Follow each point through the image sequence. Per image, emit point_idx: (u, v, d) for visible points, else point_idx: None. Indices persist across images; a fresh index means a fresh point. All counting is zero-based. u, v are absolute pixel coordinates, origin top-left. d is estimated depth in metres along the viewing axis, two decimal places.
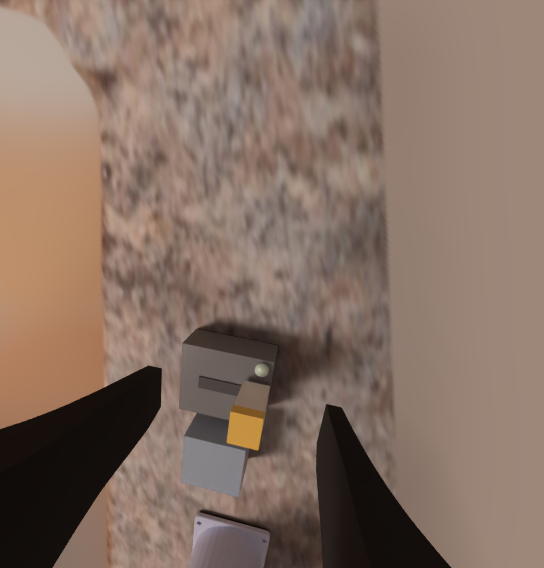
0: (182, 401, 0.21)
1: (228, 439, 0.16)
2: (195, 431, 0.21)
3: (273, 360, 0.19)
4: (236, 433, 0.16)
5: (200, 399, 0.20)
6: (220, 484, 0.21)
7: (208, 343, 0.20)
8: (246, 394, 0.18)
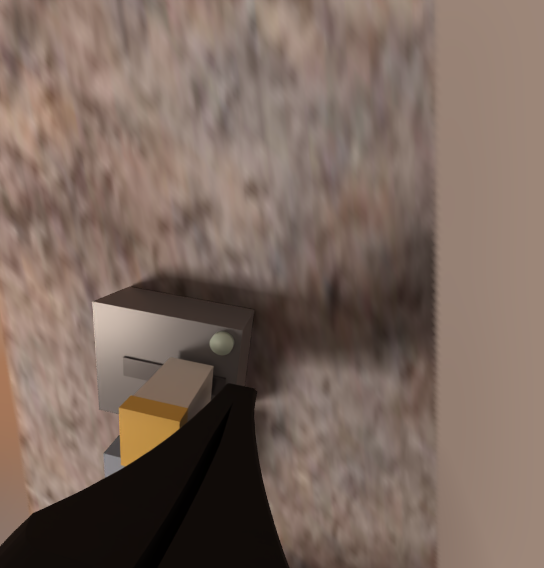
0: (103, 398, 0.13)
1: (123, 459, 0.09)
2: None
3: (241, 327, 0.11)
4: (135, 448, 0.09)
5: (129, 394, 0.13)
6: None
7: (137, 303, 0.12)
8: (165, 378, 0.10)
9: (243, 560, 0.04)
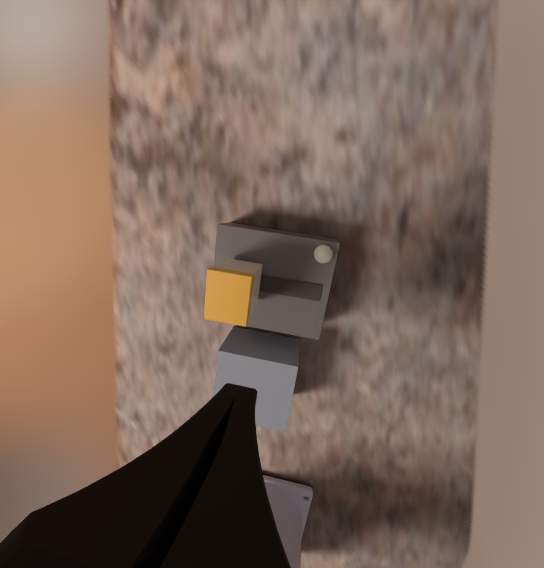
0: None
1: (206, 313, 0.12)
2: (231, 347, 0.16)
3: (337, 242, 0.14)
4: (216, 302, 0.12)
5: None
6: (262, 415, 0.17)
7: (249, 227, 0.15)
8: (231, 264, 0.14)
9: (245, 560, 0.04)
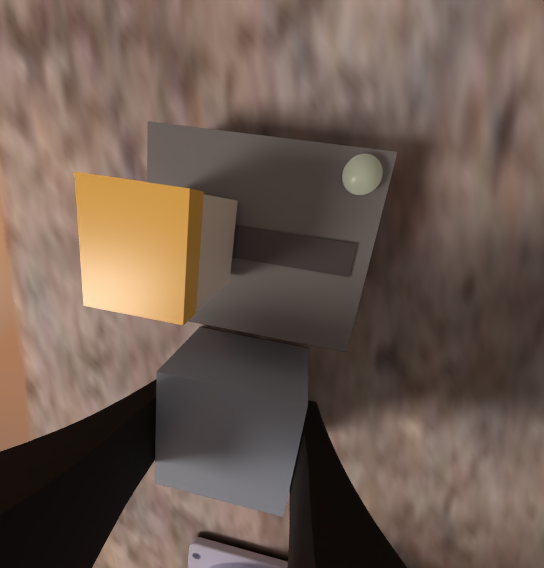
0: None
1: (87, 292, 0.05)
2: (184, 365, 0.09)
3: None
4: (107, 264, 0.05)
5: None
6: (242, 487, 0.09)
7: None
8: None
9: None
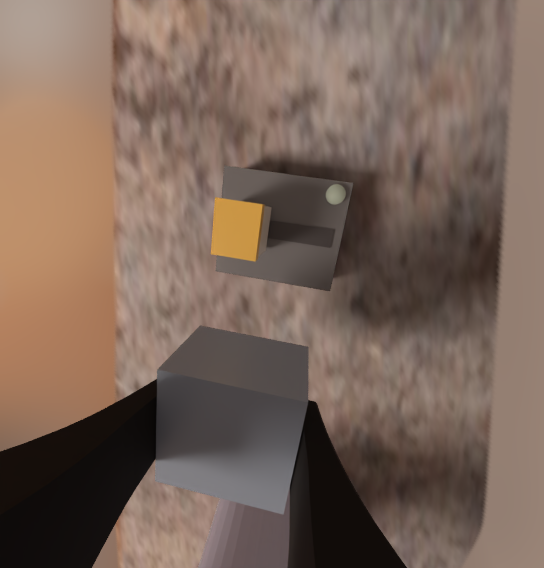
0: (220, 259, 0.15)
1: (213, 247, 0.12)
2: (185, 363, 0.09)
3: (350, 183, 0.14)
4: (224, 235, 0.12)
5: None
6: (242, 485, 0.09)
7: None
8: None
9: None
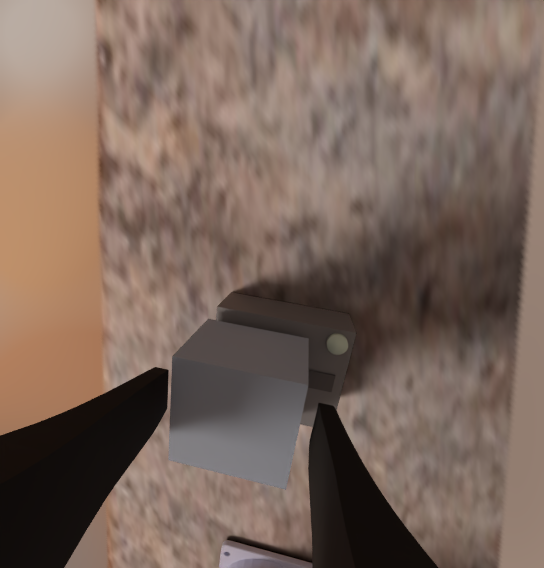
0: None
1: None
2: (197, 351, 0.10)
3: (353, 330, 0.13)
4: None
5: None
6: (248, 462, 0.10)
7: (253, 308, 0.13)
8: None
9: None
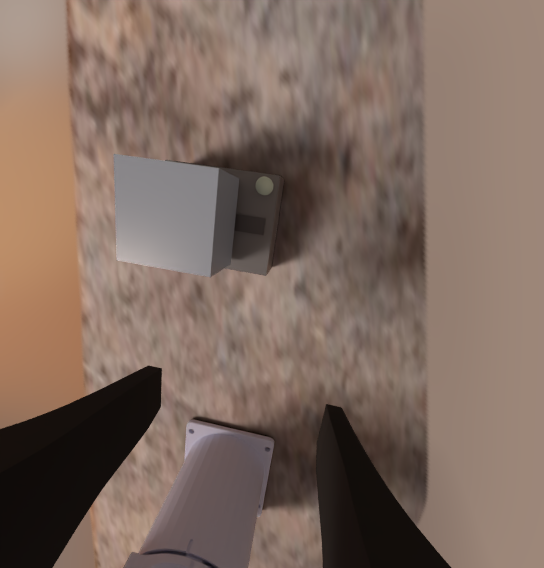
0: None
1: None
2: None
3: None
4: None
5: None
6: (179, 253, 0.13)
7: None
8: None
9: None
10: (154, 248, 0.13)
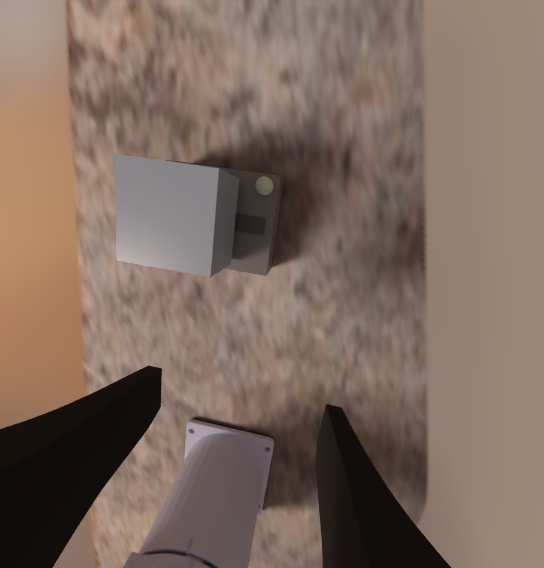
0: None
1: None
2: None
3: None
4: None
5: None
6: (179, 253, 0.13)
7: None
8: None
9: None
10: (154, 248, 0.13)
